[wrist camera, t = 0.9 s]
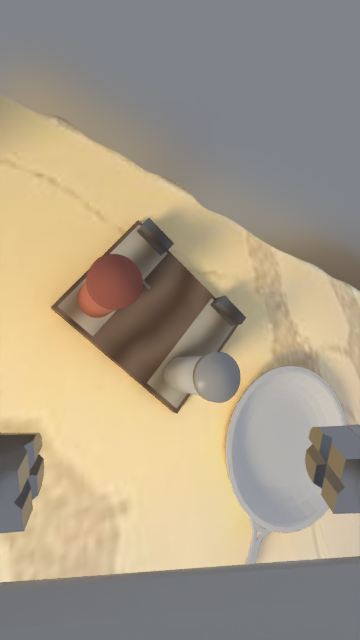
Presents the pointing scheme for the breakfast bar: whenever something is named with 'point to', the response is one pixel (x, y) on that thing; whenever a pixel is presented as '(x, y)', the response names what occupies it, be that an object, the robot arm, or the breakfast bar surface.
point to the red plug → (110, 286)
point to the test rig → (155, 315)
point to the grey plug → (204, 376)
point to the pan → (278, 450)
